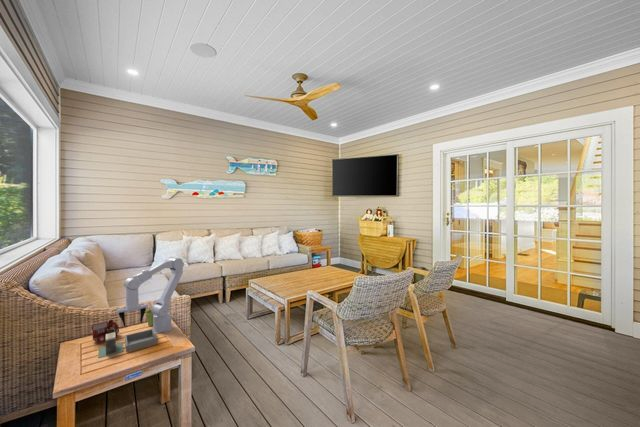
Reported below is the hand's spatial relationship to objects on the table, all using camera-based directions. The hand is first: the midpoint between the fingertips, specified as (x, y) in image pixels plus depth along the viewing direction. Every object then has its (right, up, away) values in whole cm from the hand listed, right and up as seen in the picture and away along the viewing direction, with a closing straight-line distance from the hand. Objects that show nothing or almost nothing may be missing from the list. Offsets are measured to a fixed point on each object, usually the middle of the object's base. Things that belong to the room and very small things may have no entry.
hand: (132, 323), depth 154 cm
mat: (-4, -10, -11) cm, 15 cm away
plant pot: (-1, -9, +21) cm, 23 cm away
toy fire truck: (-16, -10, +2) cm, 19 cm away
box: (-4, -9, -11) cm, 15 cm away
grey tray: (+6, -10, -3) cm, 12 cm away
